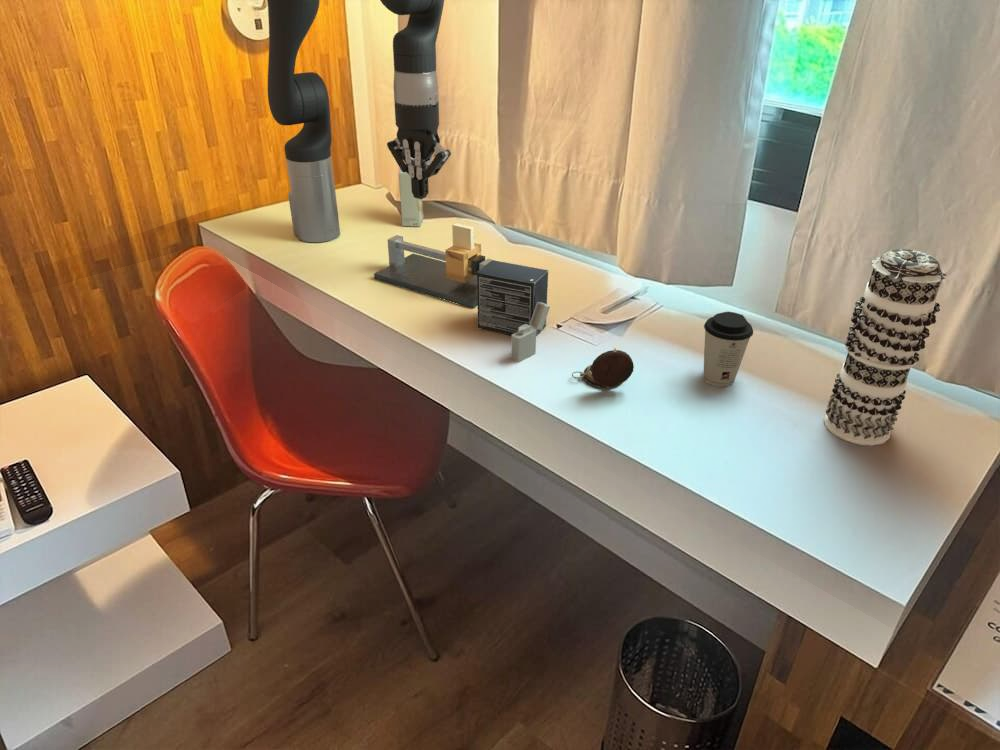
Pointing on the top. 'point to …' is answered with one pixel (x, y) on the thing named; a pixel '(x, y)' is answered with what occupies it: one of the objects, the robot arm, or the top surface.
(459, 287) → the linear slide rail
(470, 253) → the orange slider carriage
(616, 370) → the compass
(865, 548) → the top surface
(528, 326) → the lighter
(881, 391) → the decorative candle
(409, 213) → the skincare box
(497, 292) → the small box
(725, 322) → the coffee cup
